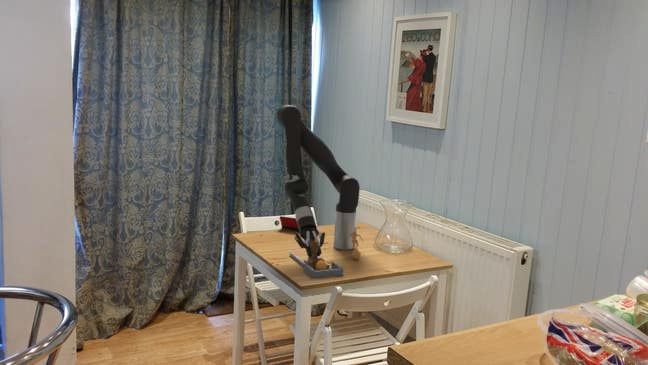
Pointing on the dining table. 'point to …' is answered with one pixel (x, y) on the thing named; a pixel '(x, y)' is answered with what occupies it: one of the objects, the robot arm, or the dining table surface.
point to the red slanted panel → (289, 223)
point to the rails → (302, 260)
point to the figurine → (355, 254)
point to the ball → (321, 265)
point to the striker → (313, 254)
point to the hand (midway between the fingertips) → (315, 255)
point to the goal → (324, 271)
